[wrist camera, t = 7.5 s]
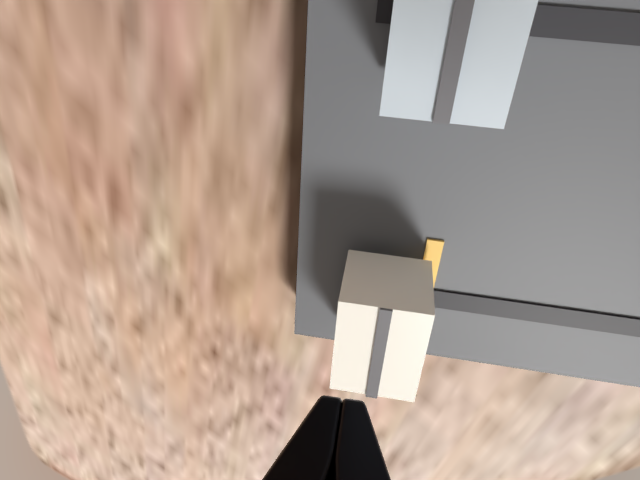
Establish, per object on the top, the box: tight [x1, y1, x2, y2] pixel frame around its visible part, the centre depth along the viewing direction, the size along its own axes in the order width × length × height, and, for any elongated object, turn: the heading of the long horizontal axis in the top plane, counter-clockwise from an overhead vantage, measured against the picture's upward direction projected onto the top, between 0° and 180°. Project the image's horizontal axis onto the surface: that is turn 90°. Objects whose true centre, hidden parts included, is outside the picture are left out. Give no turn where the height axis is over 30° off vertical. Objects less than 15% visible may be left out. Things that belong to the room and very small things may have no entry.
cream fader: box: [330, 250, 435, 402], centre depth 18 cm, size 3×4×3 cm
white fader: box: [379, 0, 538, 129], centre depth 12 cm, size 3×4×3 cm
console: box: [295, 0, 640, 387], centre depth 17 cm, size 18×16×2 cm
